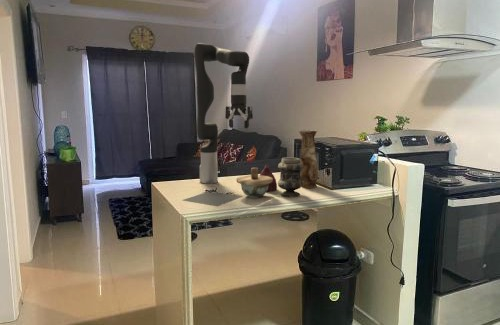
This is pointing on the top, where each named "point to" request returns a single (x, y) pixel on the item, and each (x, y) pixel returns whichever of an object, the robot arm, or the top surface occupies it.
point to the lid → (254, 178)
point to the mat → (212, 198)
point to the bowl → (254, 190)
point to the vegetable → (267, 172)
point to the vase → (308, 159)
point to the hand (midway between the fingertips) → (238, 128)
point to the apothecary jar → (290, 176)
